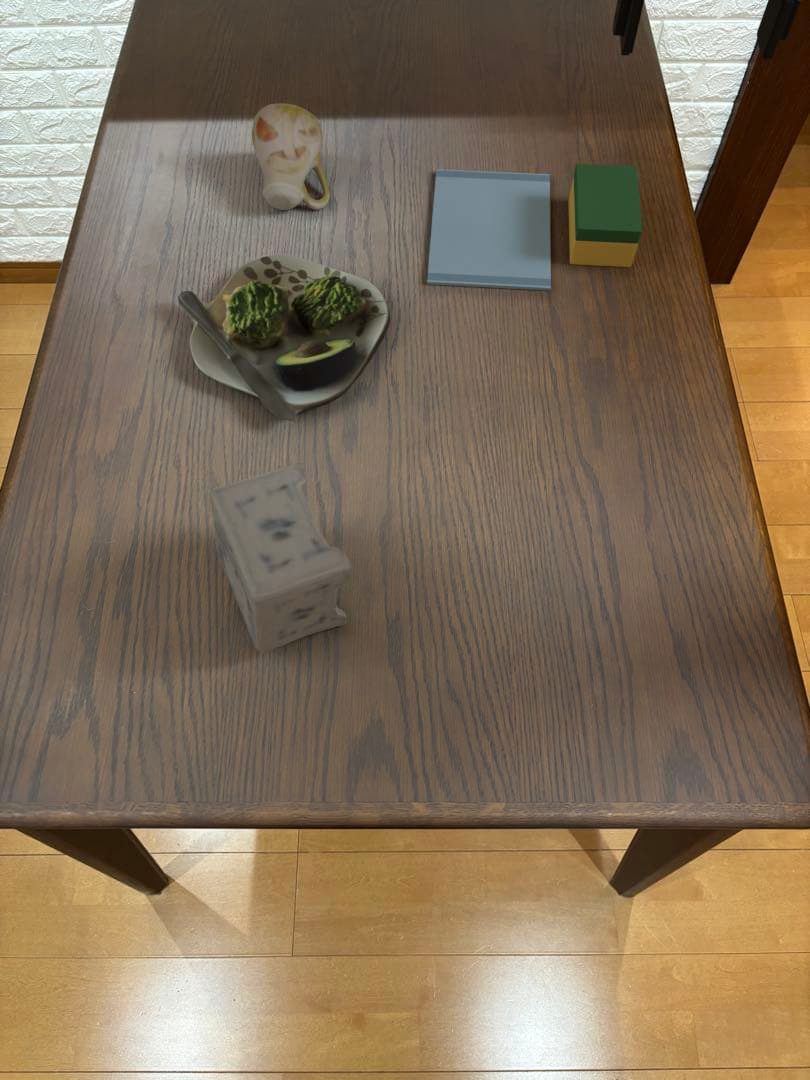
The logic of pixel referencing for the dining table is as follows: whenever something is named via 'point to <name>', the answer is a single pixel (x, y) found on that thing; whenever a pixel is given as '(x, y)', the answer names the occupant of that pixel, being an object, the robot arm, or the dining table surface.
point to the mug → (288, 155)
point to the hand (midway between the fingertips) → (694, 46)
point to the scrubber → (604, 215)
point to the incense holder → (277, 558)
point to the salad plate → (288, 332)
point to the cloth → (490, 230)
